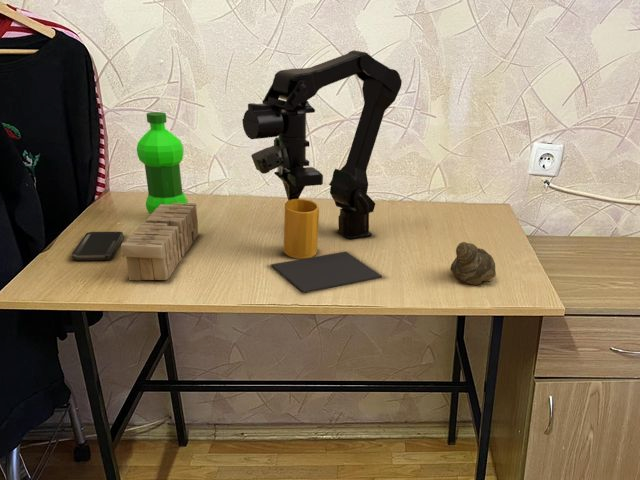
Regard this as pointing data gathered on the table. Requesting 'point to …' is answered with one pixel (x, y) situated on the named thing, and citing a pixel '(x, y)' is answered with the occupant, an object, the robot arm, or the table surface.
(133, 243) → the block tower
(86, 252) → the phone
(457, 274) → the seashell
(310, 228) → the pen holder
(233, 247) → the table surface
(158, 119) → the plastic bottle
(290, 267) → the mat
